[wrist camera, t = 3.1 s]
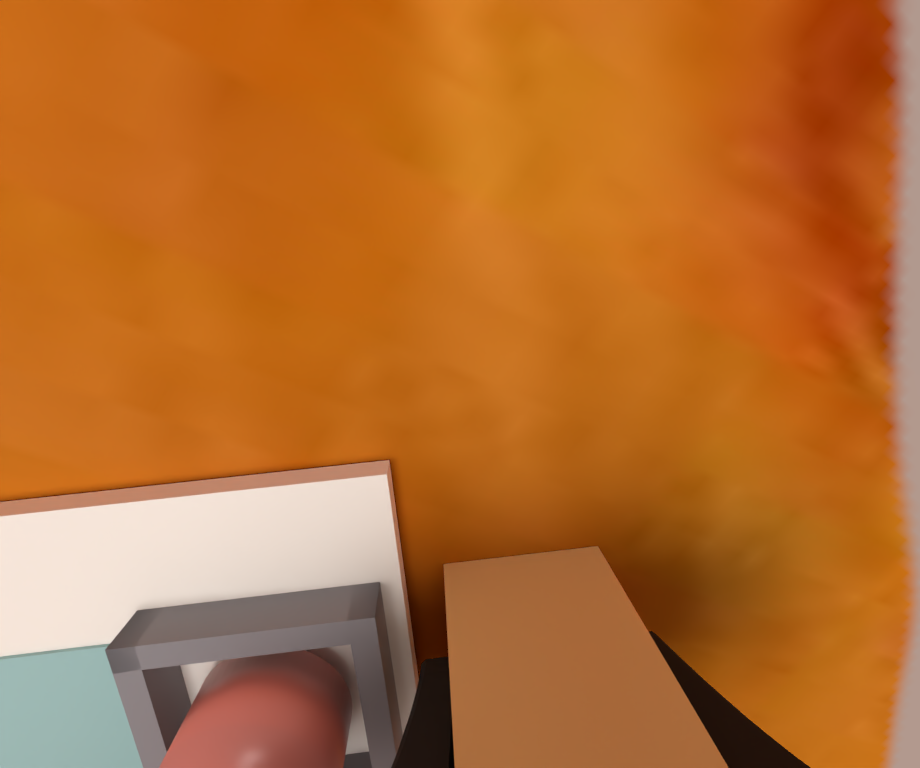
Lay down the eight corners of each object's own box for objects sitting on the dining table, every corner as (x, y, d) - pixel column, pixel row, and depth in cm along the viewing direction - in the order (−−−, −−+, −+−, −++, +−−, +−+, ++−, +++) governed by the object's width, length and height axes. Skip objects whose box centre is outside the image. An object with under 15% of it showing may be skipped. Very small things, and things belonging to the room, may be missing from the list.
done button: (362, 756, 12) (349, 849, 11) (215, 776, 12) (176, 873, 10) (340, 636, 12) (322, 712, 10) (182, 655, 11) (132, 737, 9)
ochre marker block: (600, 672, 14) (765, 1070, 7) (457, 690, 14) (487, 1115, 7) (597, 546, 13) (788, 868, 6) (443, 564, 13) (463, 916, 6)
